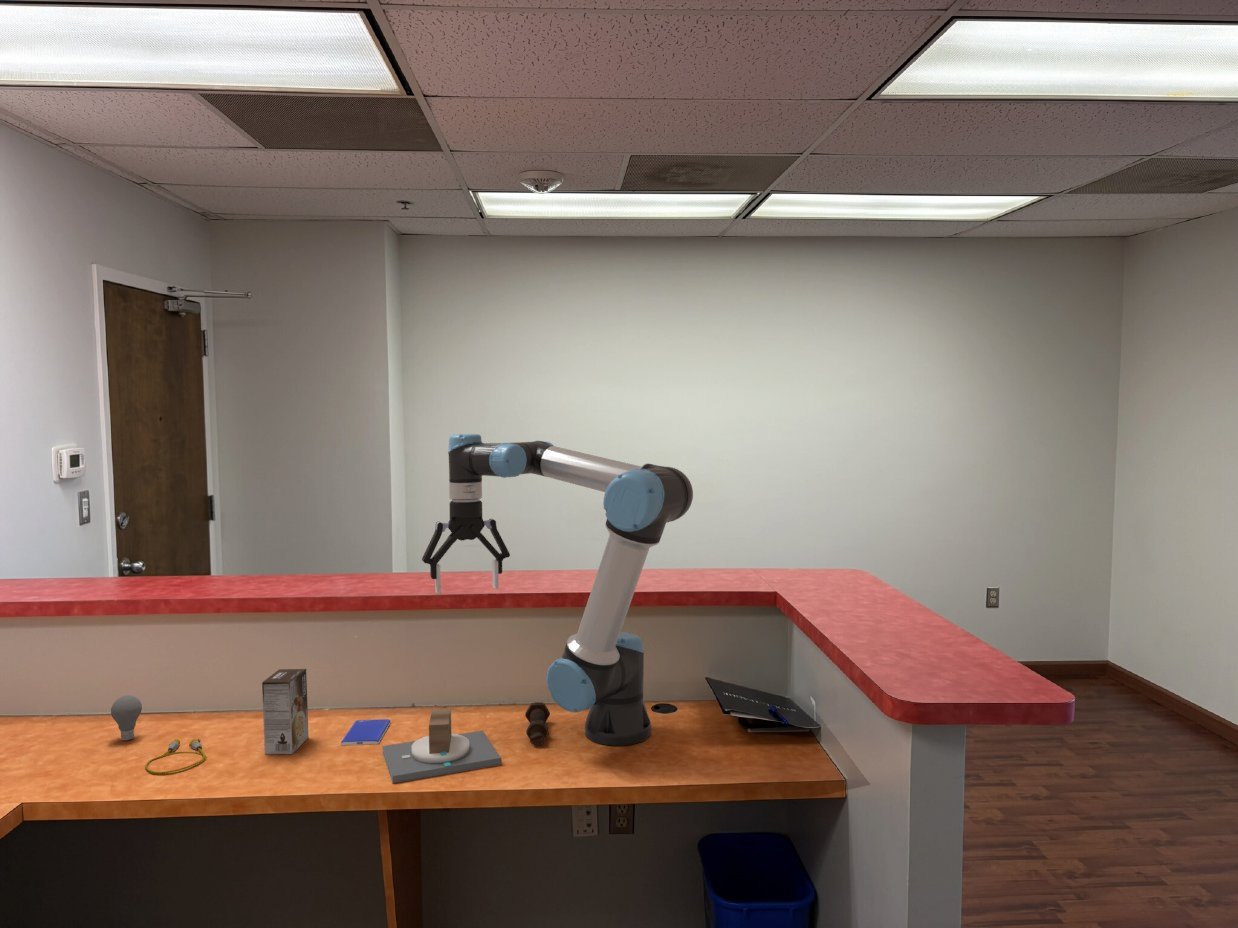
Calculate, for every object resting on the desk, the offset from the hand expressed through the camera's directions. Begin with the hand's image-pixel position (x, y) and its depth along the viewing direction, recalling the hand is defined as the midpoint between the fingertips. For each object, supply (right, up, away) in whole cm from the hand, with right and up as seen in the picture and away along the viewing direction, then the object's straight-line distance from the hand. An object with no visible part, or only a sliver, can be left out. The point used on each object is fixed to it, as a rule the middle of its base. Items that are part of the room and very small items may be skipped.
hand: (467, 590), depth 192 cm
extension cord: (-58, -34, -18) cm, 69 cm away
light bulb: (-75, -33, -8) cm, 82 cm away
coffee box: (-38, -33, -12) cm, 51 cm away
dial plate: (-2, -33, -18) cm, 38 cm away
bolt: (+17, -33, -5) cm, 37 cm away
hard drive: (-22, -33, -5) cm, 40 cm away
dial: (-2, -31, -19) cm, 36 cm away
